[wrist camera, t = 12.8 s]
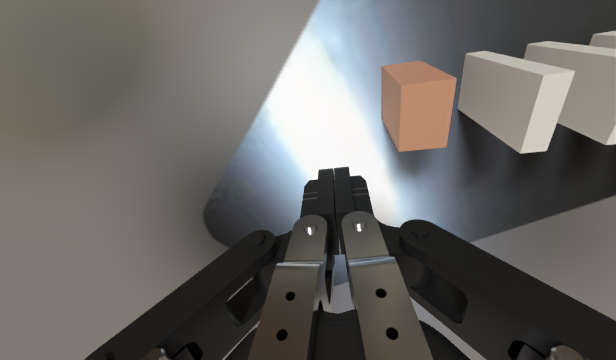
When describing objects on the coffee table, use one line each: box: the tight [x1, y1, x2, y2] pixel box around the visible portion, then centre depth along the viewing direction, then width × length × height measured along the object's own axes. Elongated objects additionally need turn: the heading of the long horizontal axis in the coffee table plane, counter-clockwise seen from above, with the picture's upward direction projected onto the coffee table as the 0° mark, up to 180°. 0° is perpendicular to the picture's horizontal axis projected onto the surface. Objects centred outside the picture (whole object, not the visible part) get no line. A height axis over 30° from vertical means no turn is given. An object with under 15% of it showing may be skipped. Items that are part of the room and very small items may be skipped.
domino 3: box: [524, 41, 616, 145], centre depth 19 cm, size 2×5×10 cm, turn 9°
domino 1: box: [381, 61, 457, 152], centre depth 22 cm, size 4×5×8 cm
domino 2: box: [458, 51, 575, 154], centre depth 20 cm, size 2×5×10 cm, turn 9°
